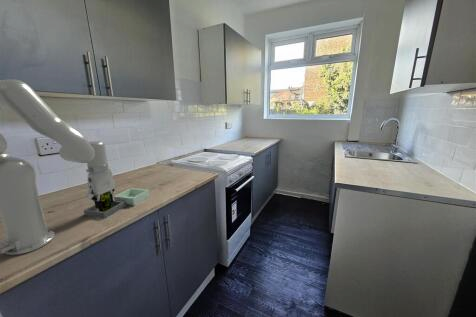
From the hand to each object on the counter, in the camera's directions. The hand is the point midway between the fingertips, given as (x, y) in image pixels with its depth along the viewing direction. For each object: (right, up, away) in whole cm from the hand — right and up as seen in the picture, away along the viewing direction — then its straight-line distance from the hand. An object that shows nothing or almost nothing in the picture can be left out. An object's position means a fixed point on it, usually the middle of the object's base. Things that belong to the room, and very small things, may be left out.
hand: (104, 204), depth 93 cm
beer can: (0, -3, +1) cm, 3 cm away
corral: (0, -3, +1) cm, 3 cm away
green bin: (+7, 0, +12) cm, 14 cm away
